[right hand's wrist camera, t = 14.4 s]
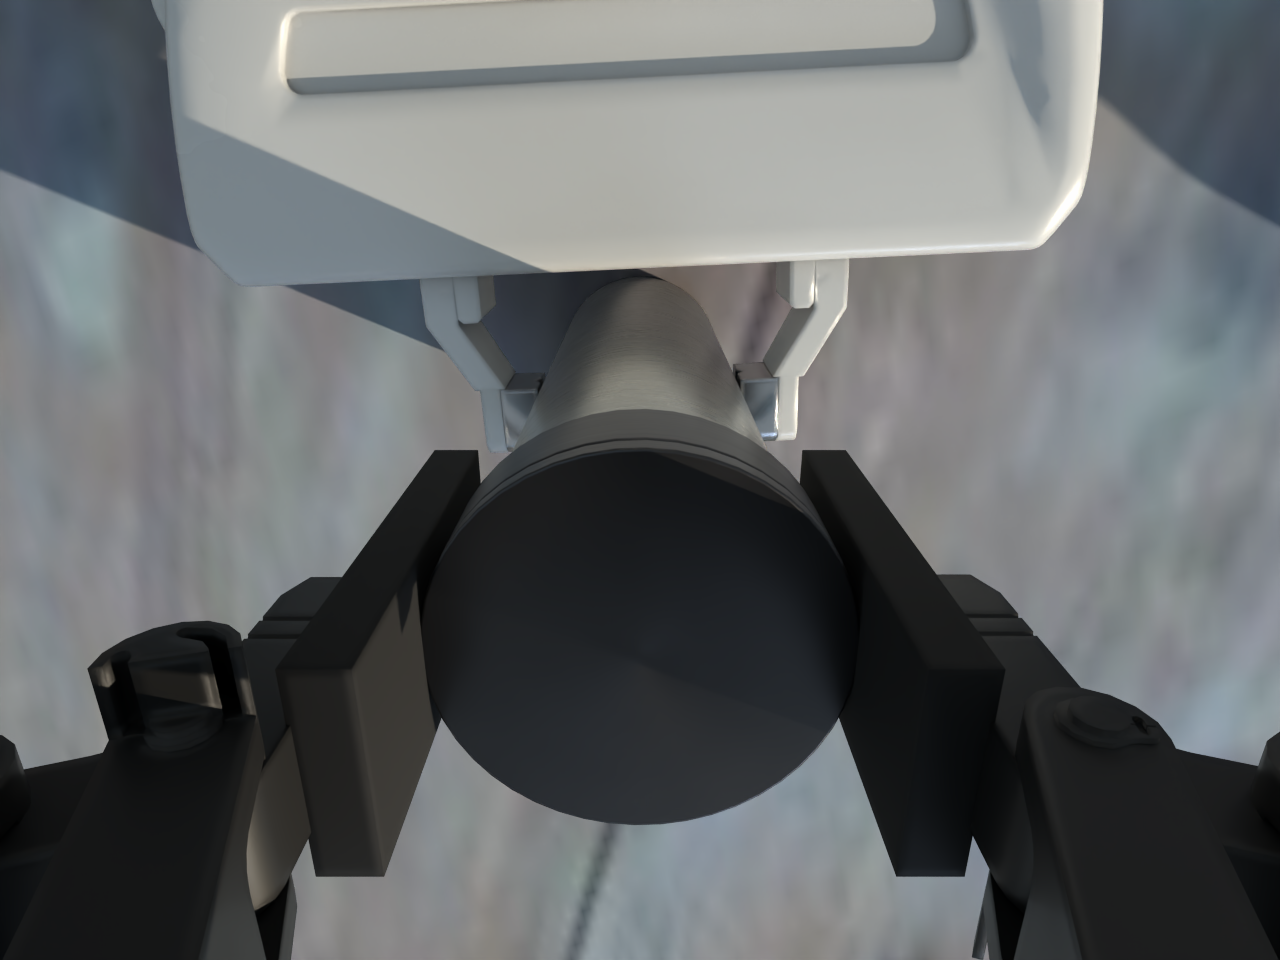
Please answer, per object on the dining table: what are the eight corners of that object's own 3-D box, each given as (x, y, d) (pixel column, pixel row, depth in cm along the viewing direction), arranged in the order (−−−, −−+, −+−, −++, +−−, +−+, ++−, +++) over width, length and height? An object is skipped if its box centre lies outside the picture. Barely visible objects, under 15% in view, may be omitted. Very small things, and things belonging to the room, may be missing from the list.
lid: (368, 552, 12) (326, 613, 10) (688, 324, 10) (696, 352, 9) (602, 799, 13) (597, 885, 12) (901, 628, 12) (940, 697, 11)
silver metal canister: (534, 337, 27) (367, 600, 11) (658, 244, 26) (688, 376, 9) (624, 452, 29) (602, 841, 12) (744, 370, 28) (902, 673, 11)
